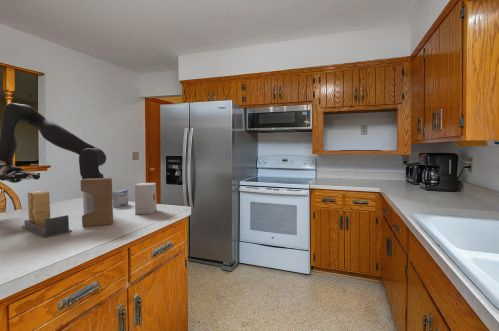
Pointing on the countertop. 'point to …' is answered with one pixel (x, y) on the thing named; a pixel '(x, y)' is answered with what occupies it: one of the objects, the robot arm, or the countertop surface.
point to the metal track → (49, 226)
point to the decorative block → (98, 201)
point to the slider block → (38, 207)
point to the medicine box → (120, 198)
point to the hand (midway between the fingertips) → (26, 177)
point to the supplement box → (145, 198)
